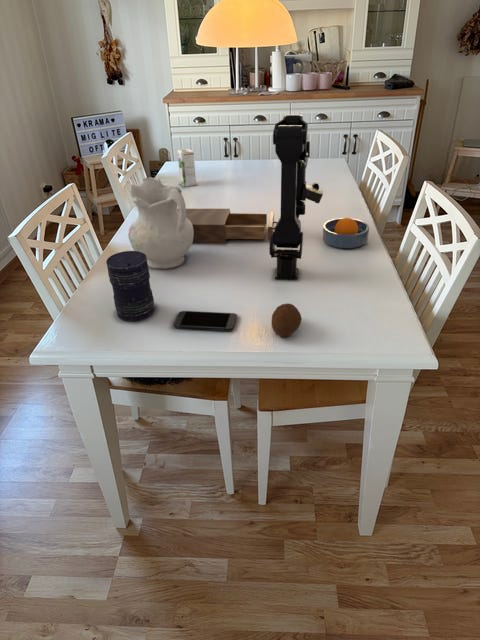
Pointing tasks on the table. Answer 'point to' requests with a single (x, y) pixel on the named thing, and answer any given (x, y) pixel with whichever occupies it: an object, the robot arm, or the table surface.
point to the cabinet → (208, 225)
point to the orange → (346, 227)
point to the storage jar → (131, 285)
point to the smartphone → (205, 320)
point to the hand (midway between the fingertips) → (295, 225)
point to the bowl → (345, 240)
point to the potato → (286, 320)
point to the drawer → (248, 225)
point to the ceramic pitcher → (160, 224)
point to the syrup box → (186, 167)
